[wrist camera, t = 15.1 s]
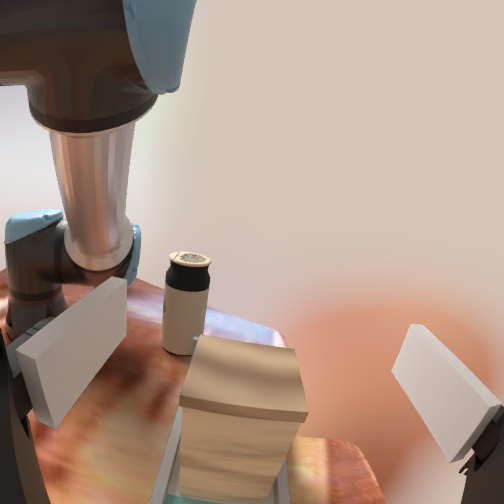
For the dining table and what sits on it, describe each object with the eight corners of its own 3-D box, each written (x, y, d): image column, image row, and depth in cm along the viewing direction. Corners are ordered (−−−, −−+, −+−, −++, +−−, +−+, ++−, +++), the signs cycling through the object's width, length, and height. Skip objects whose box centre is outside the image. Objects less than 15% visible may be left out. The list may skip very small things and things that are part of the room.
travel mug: (205, 340, 59) (216, 256, 55) (195, 360, 51) (207, 267, 47) (169, 331, 59) (176, 248, 55) (155, 350, 51) (160, 258, 47)
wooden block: (190, 437, 31) (200, 334, 28) (263, 447, 32) (294, 348, 28) (177, 493, 22) (179, 394, 19) (264, 505, 23) (308, 412, 19)
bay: (189, 381, 45) (194, 336, 43) (273, 394, 45) (286, 350, 43) (150, 514, 19) (143, 477, 17) (284, 531, 20) (311, 497, 18)
